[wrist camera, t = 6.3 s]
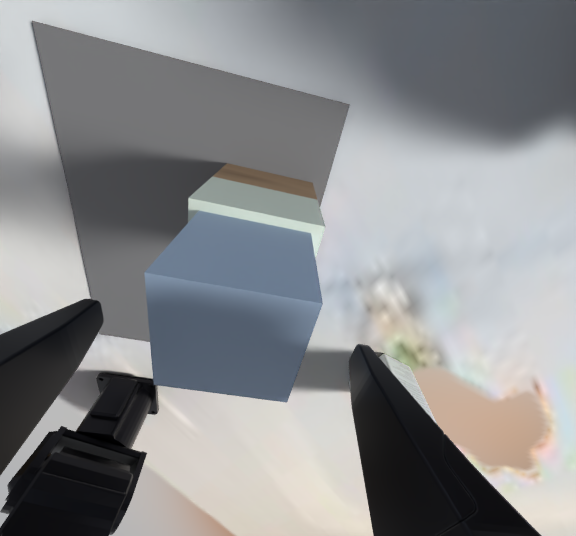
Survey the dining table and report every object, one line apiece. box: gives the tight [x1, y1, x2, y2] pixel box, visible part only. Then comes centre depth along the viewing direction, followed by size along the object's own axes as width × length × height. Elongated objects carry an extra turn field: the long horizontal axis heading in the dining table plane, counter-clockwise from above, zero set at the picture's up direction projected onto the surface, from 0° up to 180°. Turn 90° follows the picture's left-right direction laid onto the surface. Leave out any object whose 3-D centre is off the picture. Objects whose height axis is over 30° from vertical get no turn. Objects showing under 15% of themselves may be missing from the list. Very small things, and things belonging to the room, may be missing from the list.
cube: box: [144, 211, 323, 402], centre depth 11 cm, size 5×5×5 cm
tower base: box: [213, 163, 317, 200], centre depth 18 cm, size 6×6×4 cm
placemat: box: [32, 21, 349, 342], centre depth 21 cm, size 24×18×1 cm
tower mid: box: [188, 176, 325, 258], centre depth 15 cm, size 6×6×4 cm
